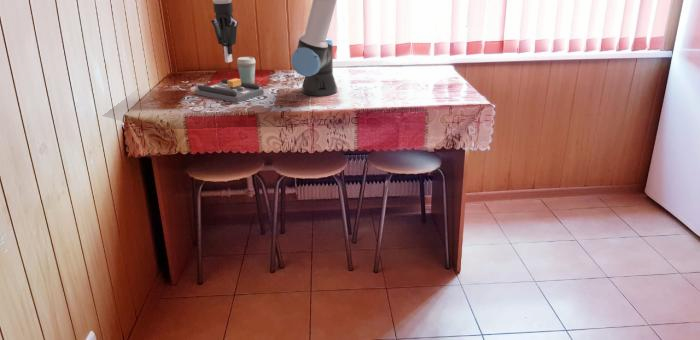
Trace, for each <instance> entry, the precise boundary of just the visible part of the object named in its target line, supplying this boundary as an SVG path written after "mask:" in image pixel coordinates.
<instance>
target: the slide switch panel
mask: <svg viewBox="0 0 700 340" xmlns="http://www.w3.org/2000/svg"><path fill="white" fill-rule="evenodd" d="M207 86H208V87H213V88H219V89H224V90H230V91H235V92H237V95H236V96H230V95H225V94H219V93H214V92H209V91H203V90H199V89H198V88H197V89H195V95H198V96H203V97H208V98H213V99H218V100H223V101H228V102H234V103H240V102H241V103H242V102H243V101H246V100H250V99H252V98H253V99H254V98H256V97H258V96H261V95H264V88H259V89H253V88H248V87H242V86H239V90H236V89H231V88H230V87H228V84H225V83H222V82H221V81H220V82H218V83H215V84H214V83H213V84H211V85H207Z"/></svg>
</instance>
